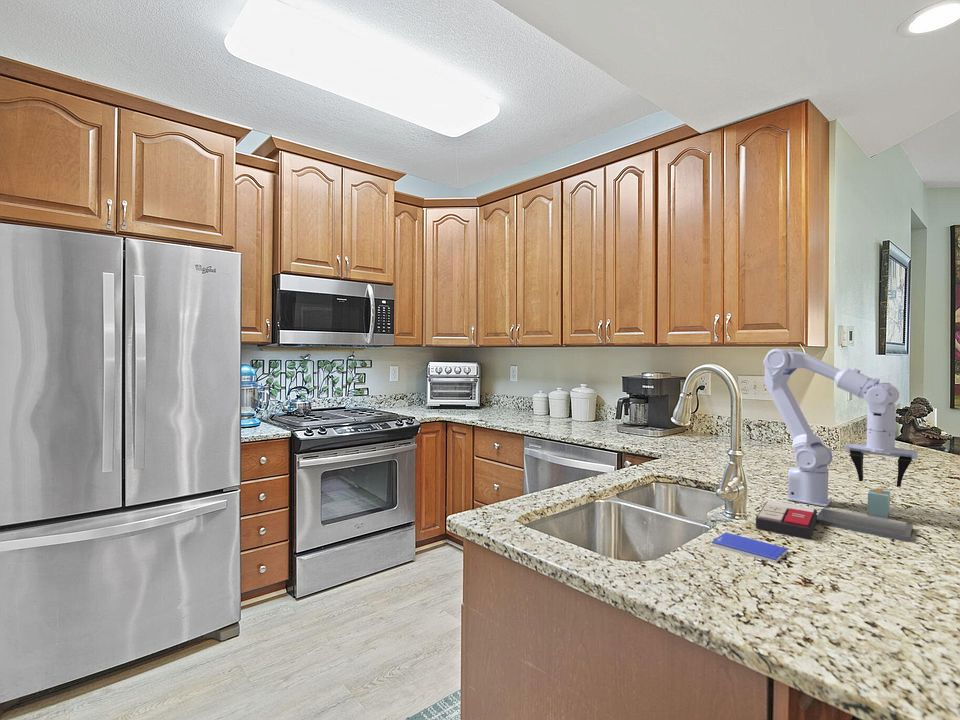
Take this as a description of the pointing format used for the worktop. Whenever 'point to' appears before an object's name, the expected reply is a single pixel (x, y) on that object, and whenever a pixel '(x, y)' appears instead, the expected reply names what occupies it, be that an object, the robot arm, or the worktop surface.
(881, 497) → the block
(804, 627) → the worktop surface
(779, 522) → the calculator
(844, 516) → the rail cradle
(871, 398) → the robot arm
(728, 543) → the hard drive
